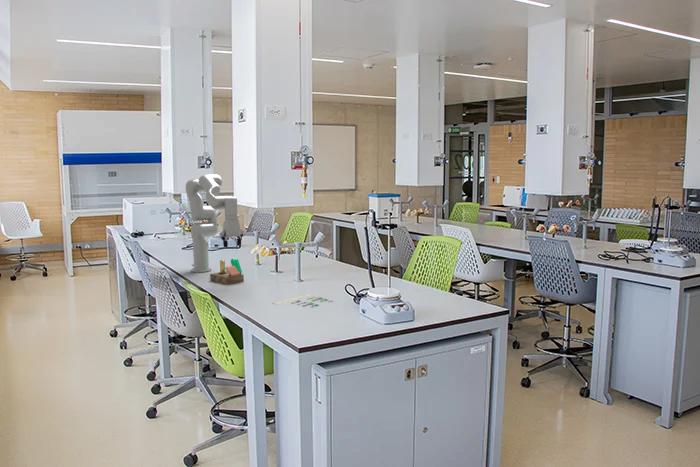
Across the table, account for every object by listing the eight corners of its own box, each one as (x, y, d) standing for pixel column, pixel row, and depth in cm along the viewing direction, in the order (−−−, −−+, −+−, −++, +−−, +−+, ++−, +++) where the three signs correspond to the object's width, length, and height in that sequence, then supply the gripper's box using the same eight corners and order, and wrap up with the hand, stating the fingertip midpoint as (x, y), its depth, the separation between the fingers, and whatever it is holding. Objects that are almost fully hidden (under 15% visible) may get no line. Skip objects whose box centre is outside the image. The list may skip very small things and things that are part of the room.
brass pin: (219, 279, 345) (218, 260, 344) (223, 279, 348) (222, 259, 346) (222, 280, 343) (221, 261, 342) (226, 279, 346) (225, 260, 344)
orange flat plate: (225, 268, 338) (225, 267, 337) (233, 267, 342) (233, 265, 342) (231, 276, 334) (231, 275, 334) (239, 274, 339) (240, 273, 338)
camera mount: (222, 274, 364) (221, 258, 363) (232, 272, 369) (232, 256, 368) (231, 276, 355) (230, 260, 354) (241, 275, 360) (241, 259, 359)
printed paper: (312, 293, 311) (312, 290, 311) (355, 302, 292) (355, 300, 292) (272, 303, 288) (272, 301, 288) (315, 315, 269) (315, 312, 269)
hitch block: (210, 280, 344) (210, 271, 343) (226, 277, 353) (226, 268, 352) (227, 284, 333) (226, 275, 332) (243, 281, 342) (243, 272, 341)
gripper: (239, 216, 348) (240, 244, 350) (215, 218, 335) (216, 247, 337) (246, 217, 343) (247, 245, 345) (222, 219, 330) (224, 248, 332)
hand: (232, 246), depth 341 cm, fingers open, 9 cm apart
